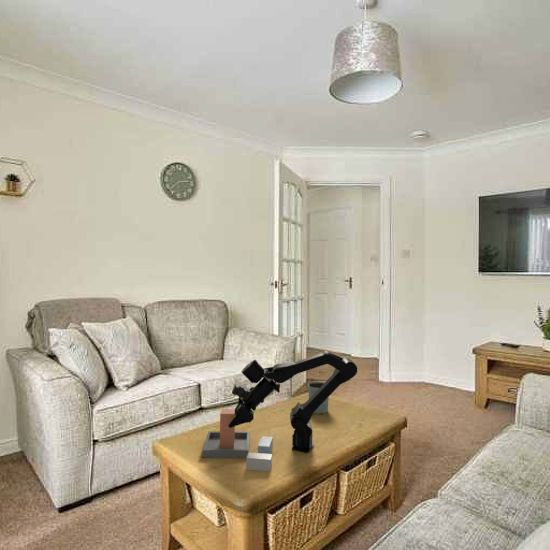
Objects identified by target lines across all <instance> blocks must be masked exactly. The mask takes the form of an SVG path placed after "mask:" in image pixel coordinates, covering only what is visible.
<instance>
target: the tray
mask: <svg viewBox="0 0 550 550" xmlns="http://www.w3.org/2000/svg"><path fill="white" fill-rule="evenodd" d="M250 434H251V432H250V431H240V430H238V431H236V430H235V443H234V448H220V430H219V431H212V430H211V431H210V430H209V431H207V435H206V437H205V440H204V443H203V447H202V450H201V456H202V457H208V459H209V458H215V459H217V458H219V459H221V458H222V459H225V458H226V459H227V458H228V459H229V458H231V459H232V458H233V459H236V458H238V459H239V458H241V459H247V455H248V453H250V442H251V441H250V438H251V436H250ZM202 457H201V458H202Z"/></svg>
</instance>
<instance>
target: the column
mask: <svg viewBox="0 0 550 550" xmlns="http://www.w3.org/2000/svg"><path fill="white" fill-rule="evenodd" d="M219 413H220V415H219V417H220V418H219V419H220V420H219V431H220V448H234V443H235V431H236V429H235V428H236V426H234V427H232V428H230V427H229V426H228V425H229V424H230V422H231V421H232V420H233V418H234V417H235V408H221V409H220V412H219Z"/></svg>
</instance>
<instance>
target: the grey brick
mask: <svg viewBox="0 0 550 550" xmlns="http://www.w3.org/2000/svg"><path fill="white" fill-rule="evenodd" d="M245 460H246V461H245V462H246V464H245V465H246V468H245V470H246V471H261V472H271V470H272V466H273V454H272V453H270V454H263V453H258V452H249V453H248V455H247V458H246V459H245Z"/></svg>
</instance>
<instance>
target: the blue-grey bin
mask: <svg viewBox="0 0 550 550" xmlns="http://www.w3.org/2000/svg"><path fill="white" fill-rule="evenodd" d="M324 383H325V382H321V381H314V382H310V383H307V391H308V400H309V399H310V398H311V397H312V395H313V394H314V393H315V392H316V391H317V390H318V389H319V388H320V387H321V386H322V385H323V384H324ZM329 397H330V396H329ZM329 397H328V398H327V399H326V400H325V401H324V402H323V403H322V404H321V405H320V406H319V407H318V408H317V409H316V410H315V411H314V413H313V414H316V413H324V414H327V413H328V412H327V411H329ZM326 412H327V413H326Z"/></svg>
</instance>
